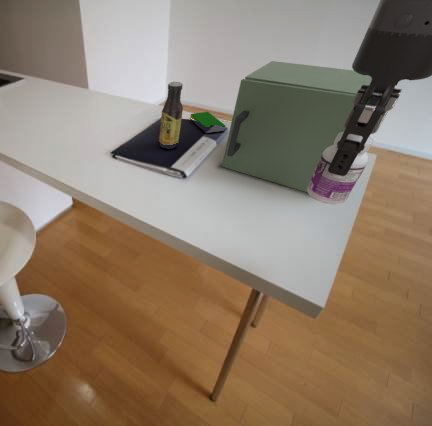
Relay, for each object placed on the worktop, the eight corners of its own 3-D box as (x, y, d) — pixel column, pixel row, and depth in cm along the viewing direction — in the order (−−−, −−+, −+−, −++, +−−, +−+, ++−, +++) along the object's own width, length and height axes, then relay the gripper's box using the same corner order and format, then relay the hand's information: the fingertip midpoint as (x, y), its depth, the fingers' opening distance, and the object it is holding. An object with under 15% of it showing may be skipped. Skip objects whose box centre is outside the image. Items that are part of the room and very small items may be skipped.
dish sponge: (205, 134, 100) (207, 128, 98) (189, 119, 110) (190, 113, 109) (224, 132, 101) (226, 125, 99) (207, 117, 111) (208, 111, 110)
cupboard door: (319, 209, 67) (373, 108, 52) (213, 175, 80) (231, 86, 65) (324, 195, 71) (377, 97, 56) (222, 164, 84) (242, 78, 69)
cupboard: (324, 195, 71) (378, 96, 56) (224, 163, 85) (245, 76, 70) (341, 165, 81) (390, 74, 66) (249, 141, 95) (271, 60, 80)
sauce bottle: (155, 144, 96) (158, 82, 83) (170, 140, 98) (176, 78, 85) (166, 153, 91) (171, 88, 79) (182, 148, 93) (190, 84, 80)
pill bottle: (310, 181, 48) (336, 125, 41) (348, 192, 45) (382, 134, 39) (301, 197, 45) (327, 139, 38) (342, 210, 42) (377, 150, 36)
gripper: (464, 38, 24) (364, 197, 35) (463, 16, 32) (381, 152, 43) (358, 33, 28) (297, 177, 39) (380, 15, 36) (324, 139, 47)
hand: (341, 163), depth 41 cm, fingers closed on pill bottle, 5 cm apart
